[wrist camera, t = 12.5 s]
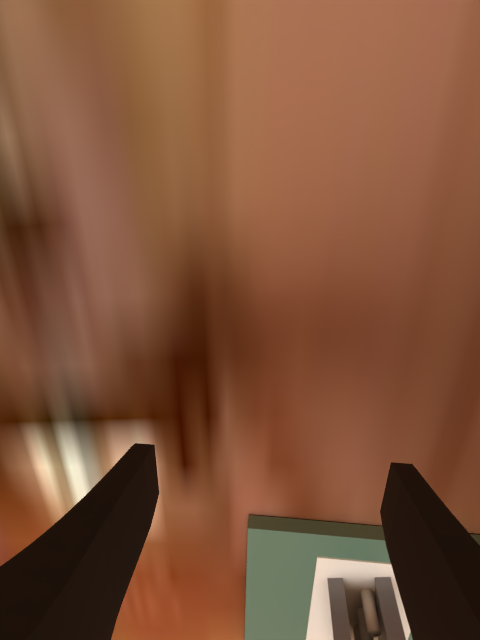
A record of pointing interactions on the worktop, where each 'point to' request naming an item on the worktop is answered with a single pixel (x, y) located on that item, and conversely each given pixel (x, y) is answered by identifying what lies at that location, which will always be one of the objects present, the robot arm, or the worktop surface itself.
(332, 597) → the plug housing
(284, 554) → the board
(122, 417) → the worktop surface
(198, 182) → the worktop surface
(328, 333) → the worktop surface
